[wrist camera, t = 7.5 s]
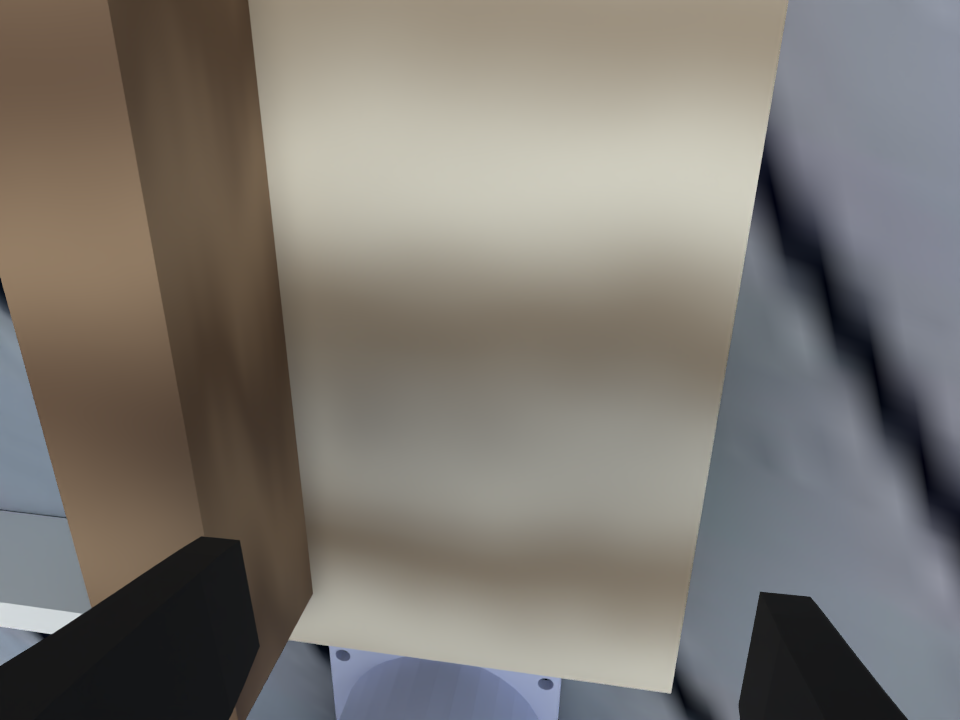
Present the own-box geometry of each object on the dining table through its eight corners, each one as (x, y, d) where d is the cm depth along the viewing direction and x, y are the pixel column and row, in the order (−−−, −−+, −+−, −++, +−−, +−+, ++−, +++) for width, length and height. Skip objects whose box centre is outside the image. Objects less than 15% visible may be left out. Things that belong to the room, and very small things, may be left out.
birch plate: (663, 615, 22) (670, 693, 20) (272, 566, 24) (230, 631, 21) (780, -151, 14) (821, -198, 12) (179, -137, 16) (92, -174, 13)
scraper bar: (312, 593, 20) (239, 730, 16) (215, 581, 21) (119, 711, 17) (243, -49, 14) (91, -88, 10) (102, -47, 14) (-100, -84, 10)
